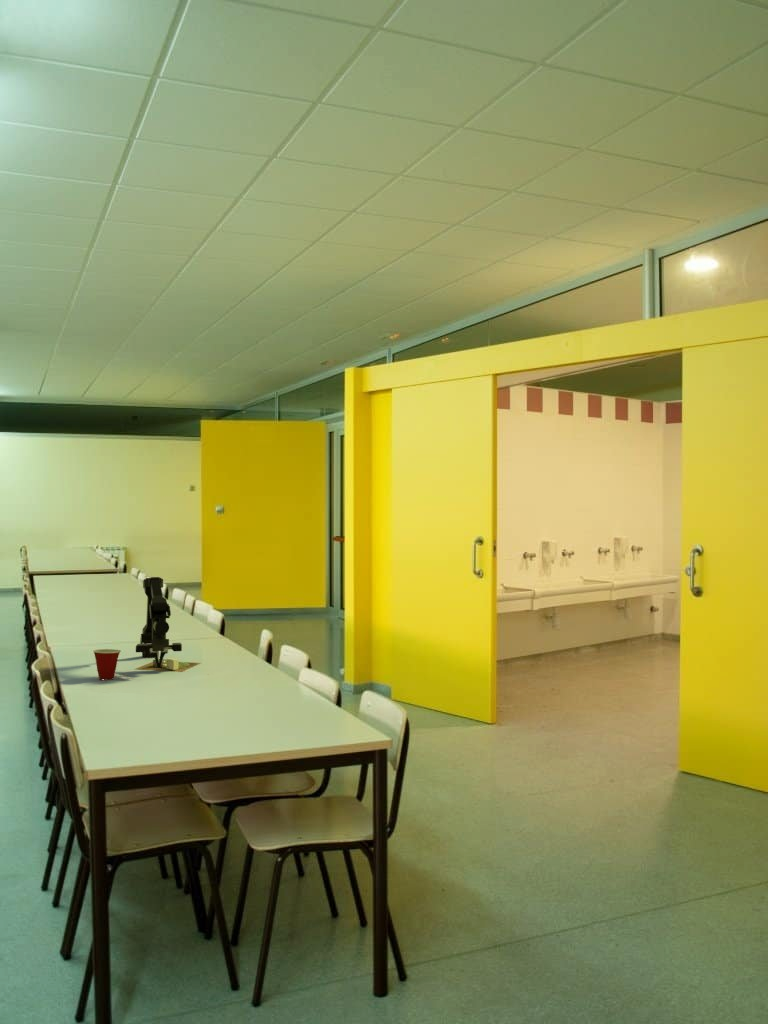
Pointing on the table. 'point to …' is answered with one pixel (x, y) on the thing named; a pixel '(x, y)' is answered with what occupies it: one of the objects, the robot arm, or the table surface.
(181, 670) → the brown flat wooden board
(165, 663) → the peg lever
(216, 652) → the table surface
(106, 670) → the plastic cup
